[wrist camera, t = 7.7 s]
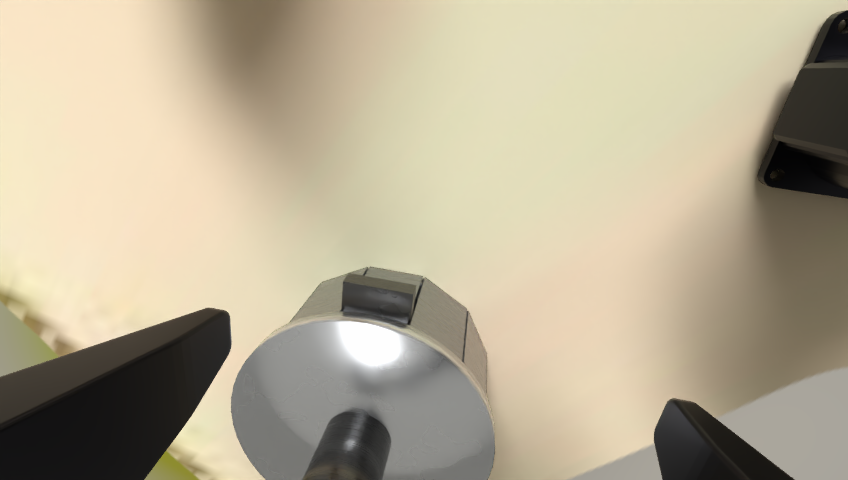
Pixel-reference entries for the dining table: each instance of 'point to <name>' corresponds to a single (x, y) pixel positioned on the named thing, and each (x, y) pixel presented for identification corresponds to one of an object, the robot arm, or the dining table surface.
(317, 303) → the grey low hollow cylinder
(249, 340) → the dining table surface
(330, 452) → the lid
